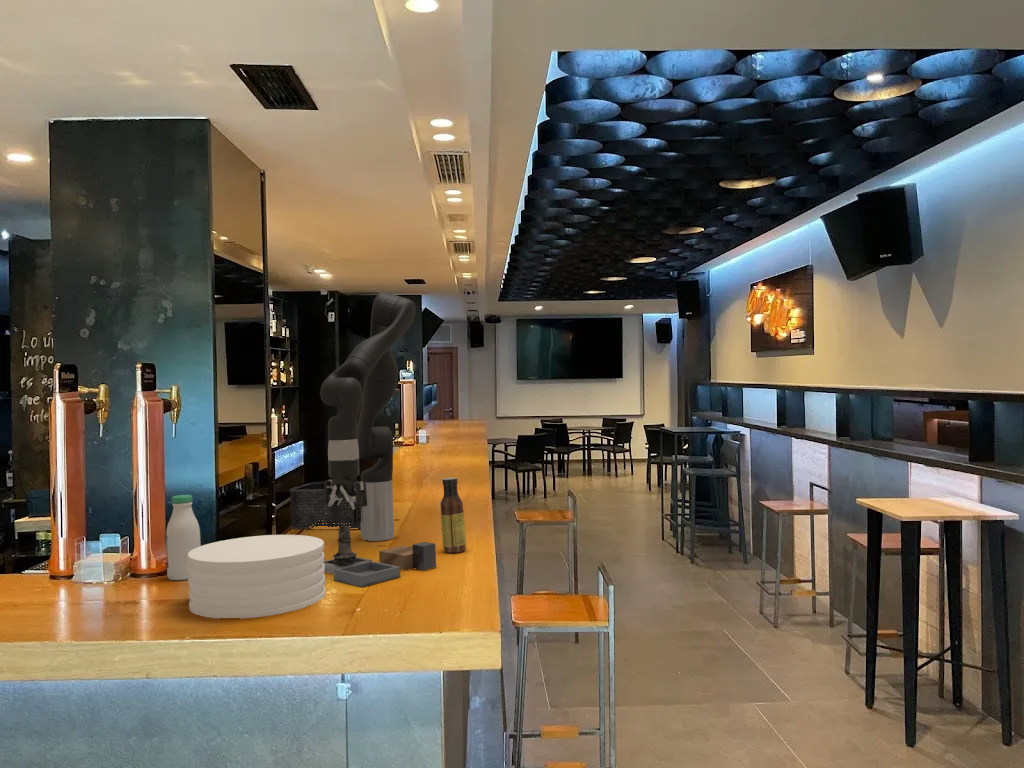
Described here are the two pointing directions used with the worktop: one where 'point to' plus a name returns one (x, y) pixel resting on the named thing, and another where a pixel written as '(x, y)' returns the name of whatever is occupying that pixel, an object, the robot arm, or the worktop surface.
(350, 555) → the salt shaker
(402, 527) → the worktop surface
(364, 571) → the tray
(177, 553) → the milk bottle
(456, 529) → the sauce bottle
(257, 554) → the plate stack
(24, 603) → the worktop surface
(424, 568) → the block
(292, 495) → the storage bin
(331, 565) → the holder
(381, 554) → the brown rectangular block
